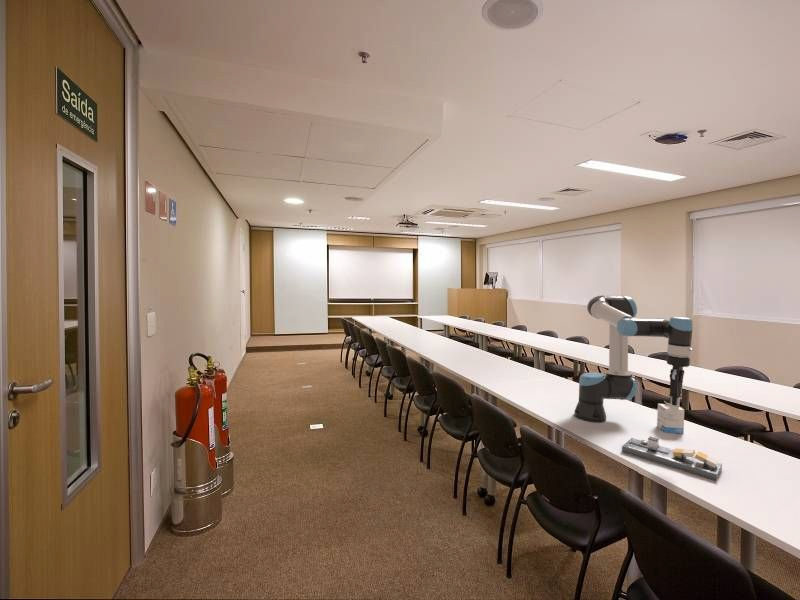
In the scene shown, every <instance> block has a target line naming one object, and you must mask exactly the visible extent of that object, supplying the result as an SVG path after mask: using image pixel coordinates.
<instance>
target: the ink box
mask: <svg viewBox="0 0 800 600" xmlns="http://www.w3.org/2000/svg"><path fill="white" fill-rule="evenodd" d="M670 404H671V403H669V402H666V401H665V400H664V403H657V416H656V417H657V418H656V427H657V428H659V429H660V430H661V431H663V432H664V433H669V434H684V432H685V431H684V427H685V409H684V408H682V407H680V406H679V413H678V414H677V413H672V412H670Z"/></svg>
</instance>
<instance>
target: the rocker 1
mask: <svg viewBox="0 0 800 600" xmlns="http://www.w3.org/2000/svg"><path fill="white" fill-rule="evenodd" d="M673 450H674V451H673V456H682V457H693V456H695V455H696V450H695V449H691V448H690V449H687V448H675V449H673Z"/></svg>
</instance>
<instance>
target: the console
mask: <svg viewBox="0 0 800 600" xmlns="http://www.w3.org/2000/svg"><path fill="white" fill-rule="evenodd" d="M674 450H675V449H673V448H669V447H665V446H661V445H660V444H659V443H658V449H657V450H653V449H649V448H648V440H646V439H641V440H640V439H637V438H634V437H631V438H630V439H628V440H627V441H626V442H625V443H624V444H623V445H621V453H624V454H628V455H631V456H633V457H637V458H641V459H643V460H645V461H650V462H653V463H657V464H660V465H664V466H667V467H669V468H673V469H677V470H679V471H682V472H685V473H688V474H691V475H696V476H699V477H702V478H704V479H705V478H706V479H708V480H712V481H715V482H717V480H718V478H719V477H720V475H721V473H722V469H723V463H722V462H719V461H718V463H717V465H716V467H715V468H714V467H712V466H710V465H708V464H706V463H704V462H702V461H700V460H698V459H696V458H695V455H694V456H693V457H682V456H673V451H674Z"/></svg>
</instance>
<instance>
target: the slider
mask: <svg viewBox="0 0 800 600" xmlns="http://www.w3.org/2000/svg"><path fill="white" fill-rule="evenodd" d="M647 441H648V448H649V449H653V450H657V449H658V444H659V441H660V438H659V437H653V436H648V438H647Z"/></svg>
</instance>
